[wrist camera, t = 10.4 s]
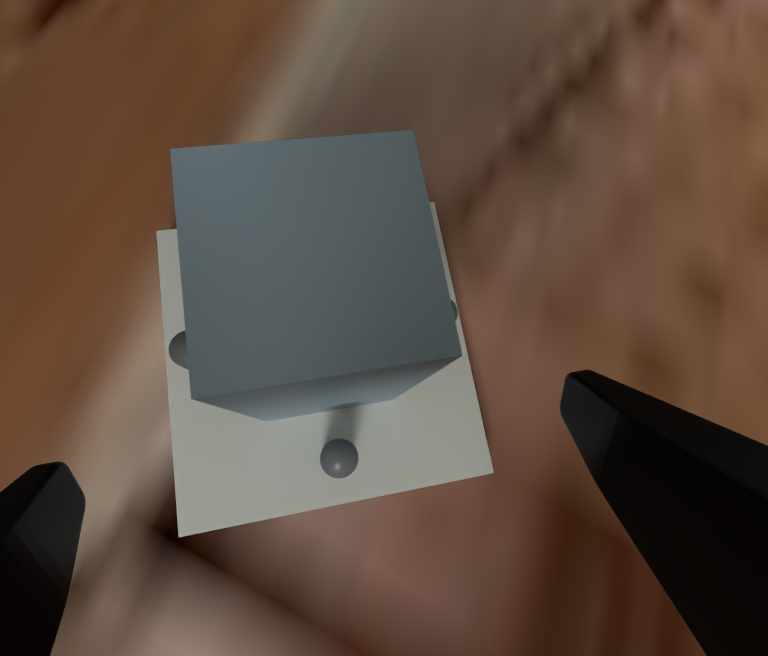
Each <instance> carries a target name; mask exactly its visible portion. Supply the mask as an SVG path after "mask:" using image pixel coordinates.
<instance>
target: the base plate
mask: <svg viewBox="0 0 768 656" xmlns="http://www.w3.org/2000/svg"><path fill="white" fill-rule="evenodd" d="M429 203H430V207H431V212H432V217H433V221H434V226H435V230H436V235H437V240H438V244H439V249H440V253H441V258H442V263H443V267H444V272H445V276H446V281H447V286H448V290H449V295H450V299H451V304H452V309H453V313H454V318H455V322H456V327H457V332H458V336H459V341H460V345H461V350H462V355H463V356H461V357H460V358H458V359H456V360H455V361H453V362H452V363H450V364H449V365H447V366H445V367H444V368H442V369H441V370H439V371H438V372H436V373H434V374H433V375H431V376H430V377H428V378H427V379H425V380H423V381H422V382H420V383H419V384H417V385H416V386H414V387H412V388H411V389H409V390H408V391H406V392H405V393H403V394H401V395H400V396H398V397H397V398H395V399H394V400H390V401H384V402H378V403H372V404H366V405H361V406H355V407H349V408H343V409H337V410H331V411H326V412H320V413H314V414H308V415H302V416H296V417H291V418H285V419H279V420H273V421H267V422H266V421H263V420H260V419H256V418H253V417H250V416H246V415H243V414H240V413H236V412H233V411H230V410H226V409H223V408H219V407H216V406H213V405H209V404H206V403H203V402H199V401H196V400H193V399H191V393H190V381H189V369H188V357H187V345H186V333H185V321H184V309H183V297H182V285H181V273H180V261H179V249H178V237H177V229H171V230H161V231H157V245H158V259H159V273H160V286H161V300H162V314H163V327H164V341H165V355H166V369H167V382H168V396H169V410H170V423H171V437H172V451H173V465H174V478H175V492H176V506H177V519H178V533H179V537H182V536H187V535H192V534H197V533H202V532H207V531H212V530H217V529H222V528H226V527H231V526H236V525H241V524H246V523H251V522H256V521H261V520H266V519H271V518H276V517H280V516H285V515H290V514H295V513H300V512H305V511H310V510H315V509H320V508H325V507H329V506H334V505H339V504H344V503H349V502H354V501H359V500H364V499H369V498H374V497H378V496H383V495H388V494H393V493H398V492H403V491H408V490H413V489H418V488H423V487H427V486H432V485H437V484H442V483H447V482H452V481H457V480H462V479H467V478H472V477H477V476H481V475H486V474H491V473H494V471H493V467H492V462H491V458H490V453H489V449H488V444H487V440H486V435H485V431H484V426H483V421H482V417H481V412H480V408H479V403H478V399H477V394H476V390H475V385H474V381H473V376H472V372H471V367H470V362H469V358H468V353H467V349H466V344H465V340H464V335H463V331H462V326H461V322H460V317H459V312H458V308H457V303H456V299H455V294H454V290H453V285H452V281H451V276H450V272H449V267H448V263H447V258H446V253H445V249H444V244H443V240H442V235H441V231H440V226H439V222H438V217H437V213H436V208H435V203H434V202H429Z"/></svg>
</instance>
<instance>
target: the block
mask: <svg viewBox="0 0 768 656" xmlns="http://www.w3.org/2000/svg"><path fill="white" fill-rule="evenodd" d="M170 153H171V165H172V177H173V189H174V201H175V213H176V225H177V237H178V249H179V261H180V273H181V285H182V297H183V309H184V321H185V333H186V345H187V357H188V369H189V381H190V393H191V399H193V400H196V401H199V402H203V403H206V404H209V405H213V406H216V407H219V408H223V409H226V410H230V411H233V412H236V413H240V414H243V415H246V416H250V417H253V418H256V419H260V420H263V421H266V422H267V421H273V420H279V419H285V418H291V417H296V416H302V415H308V414H314V413H320V412H326V411H331V410H337V409H343V408H349V407H355V406H361V405H366V404H372V403H378V402H384V401H390V400H394V399H395V398H397V397H398V396H400V395H401V394H403V393H405V392H406V391H408V390H409V389H411V388H412V387H414V386H416V385H417V384H419V383H420V382H422V381H423V380H425V379H427V378H428V377H430V376H431V375H433V374H434V373H436V372H438V371H439V370H441V369H442V368H444V367H445V366H447V365H449V364H450V363H452V362H453V361H455V360H456V359H458V358H460V357H461V356H463V355H462V350H461V345H460V341H459V336H458V332H457V327H456V322H455V318H454V313H453V309H452V304H451V299H450V295H449V290H448V286H447V281H446V276H445V272H444V267H443V263H442V258H441V253H440V249H439V244H438V240H437V235H436V230H435V226H434V221H433V217H432V212H431V207H430V203H429V198H428V194H427V189H426V184H425V180H424V175H423V171H422V166H421V161H420V157H419V152H418V148H417V143H416V138H415V134H414V130H402V131H390V132H377V133H365V134H352V135H339V136H327V137H314V138H301V139H289V140H276V141H264V142H251V143H238V144H226V145H213V146H201V147H188V148H175V149H170Z"/></svg>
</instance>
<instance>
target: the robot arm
mask: <svg viewBox="0 0 768 656" xmlns="http://www.w3.org/2000/svg"><path fill="white" fill-rule="evenodd" d="M560 412H561V415H562V418H563V420H564V422H565V424H566V426H567V428H568V430H569V432H570V434H571V436H572V438H573V440H574V442H575V444H576V446H577V447H578V449H579V451H580V453H581V455H582V457H583V459H584V461H585V463H586V465H587V467H588V469H589V471H590V473H591V475H592V477H593V479H594V480H595V482H596V484H597V486H598V487H599V489H600V491H601V492H602V494H603V495H604V497H605V499H606V500H607V502H608V503H609V505H610V506H611V508H612V509H613V511H614V513H615V514H616V516H617V517H618V519H619V520H620V522H621V523H622V525H623V526H624V528H625V530H626V531H627V533H628V534H629V536H630V537H631V539H632V540H633V542H634V544H635V545H636V547H637V548H638V550H639V551H640V553H641V554H642V556H643V557H644V559H645V561H646V562H647V564H648V565H649V567H650V568H651V570H652V571H653V573H654V575H655V576H656V578H657V579H658V581H659V582H660V584H661V585H662V587H663V588H664V590H665V592H666V593H667V595H668V596H669V598H670V599H671V601H672V602H673V604H674V606H675V607H676V609H677V610H678V612H679V613H680V615H681V616H682V618H683V619H684V621H685V623H686V624H687V626H688V627H689V629H690V630H691V632H692V633H693V635H694V636H695V638H696V640H697V641H698V643H699V644H700V646H701V647H702V649H703V650H704V652H705V654H706V655H707V656H768V446H767V445H765V444H762V443H760V442H757V441H755V440H753V439H750V438H748V437H746V436H743V435H741V434H739V433H736V432H734V431H732V430H729V429H727V428H725V427H722V426H720V425H718V424H715V423H713V422H711V421H708V420H706V419H704V418H701V417H699V416H697V415H694V414H692V413H690V412H687V411H685V410H683V409H680V408H678V407H676V406H673V405H671V404H669V403H666V402H664V401H662V400H659V399H657V398H654V397H652V396H650V395H647V394H645V393H643V392H640V391H638V390H636V389H633V388H631V387H629V386H626V385H624V384H622V383H619V382H617V381H615V380H612V379H610V378H608V377H605V376H603V375H601V374H598V373H596V372H594V371H591V370H581V371H576V372H571V373H569V374H568V375H567V376H566V378H565V382H564V387H563V392H562V397H561V402H560ZM84 512H85V496H84V493H83V491H82V490H81V488H80V486H79V484H78V483H77V481H76V479H75V477H74V476H73V474H72V472H71V471H70V469H69V467H68V466H67V465H66V464H65V463H63V462H52V463H47V464H41V465H37V466H34V467H32V468H30V469H29V470H28V471H26V472H25V473H24V474H23V475H21V476H20V477H19V478H18V479H16V480H15V481H14V482H13V483H11V484H10V485H9V486H8V487H6V488H5V489H4V490H3V491H1V492H0V656H50V654H51V651H52V648H53V644H54V641H55V638H56V635H57V631H58V628H59V625H60V622H61V619H62V615H63V612H64V608H65V605H66V601H67V597H68V593H69V588H70V584H71V579H72V573H73V568H74V563H75V558H76V553H77V548H78V543H79V537H80V532H81V527H82V522H83V517H84Z"/></svg>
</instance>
